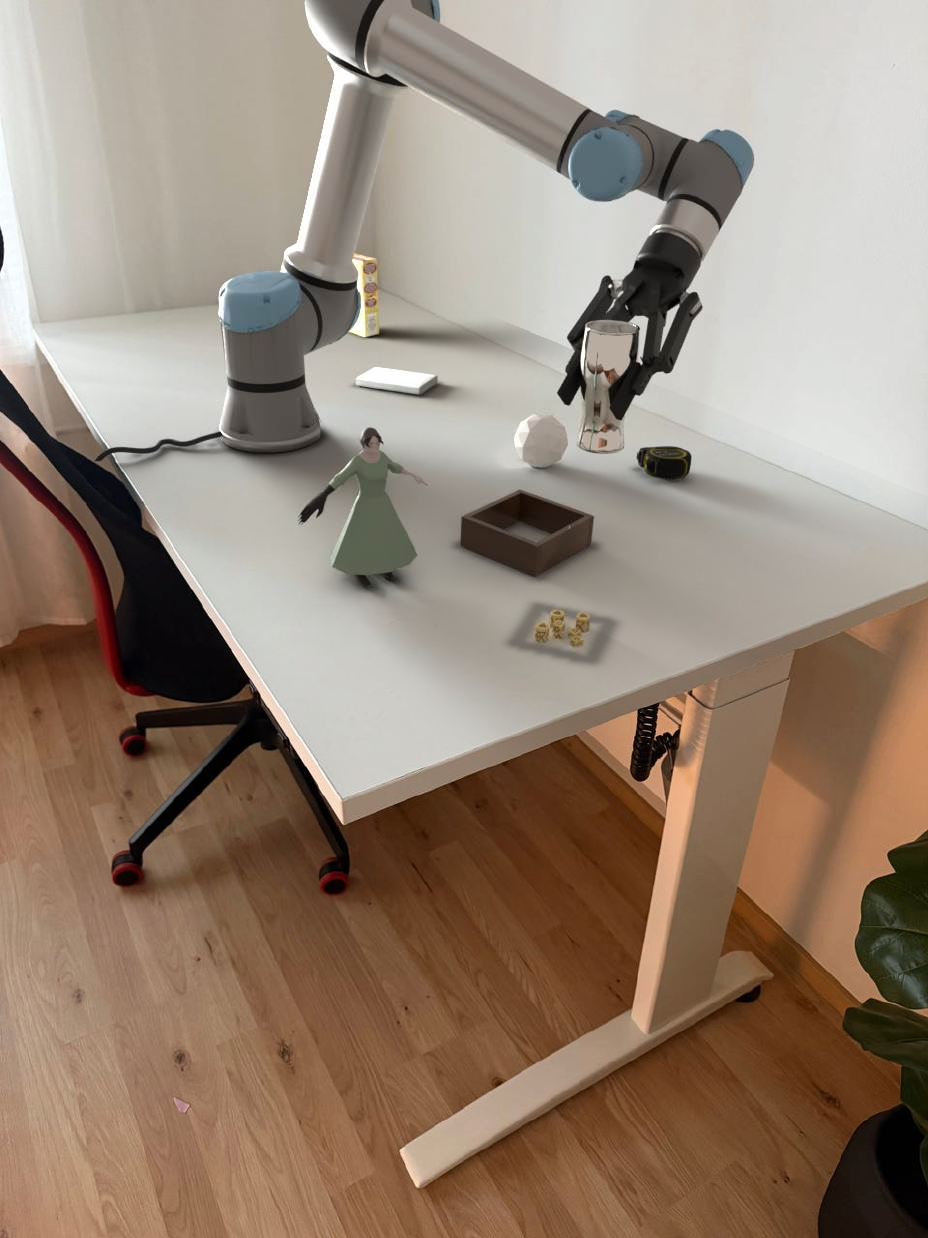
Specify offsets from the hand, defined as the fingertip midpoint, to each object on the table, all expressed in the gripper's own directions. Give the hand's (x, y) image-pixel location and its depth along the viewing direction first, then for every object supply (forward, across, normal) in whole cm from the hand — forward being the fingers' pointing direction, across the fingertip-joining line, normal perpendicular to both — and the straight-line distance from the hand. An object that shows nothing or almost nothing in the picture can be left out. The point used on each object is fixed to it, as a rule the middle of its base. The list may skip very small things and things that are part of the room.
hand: (588, 406), depth 115 cm
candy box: (-21, +88, -43) cm, 100 cm away
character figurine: (+32, +9, +10) cm, 35 cm away
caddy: (+18, +1, -4) cm, 19 cm away
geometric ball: (+2, +16, -20) cm, 25 cm away
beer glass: (+2, 0, -7) cm, 7 cm away
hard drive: (-6, +57, -29) cm, 64 cm away
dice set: (+28, -14, +5) cm, 32 cm away
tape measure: (-5, +1, -27) cm, 27 cm away
